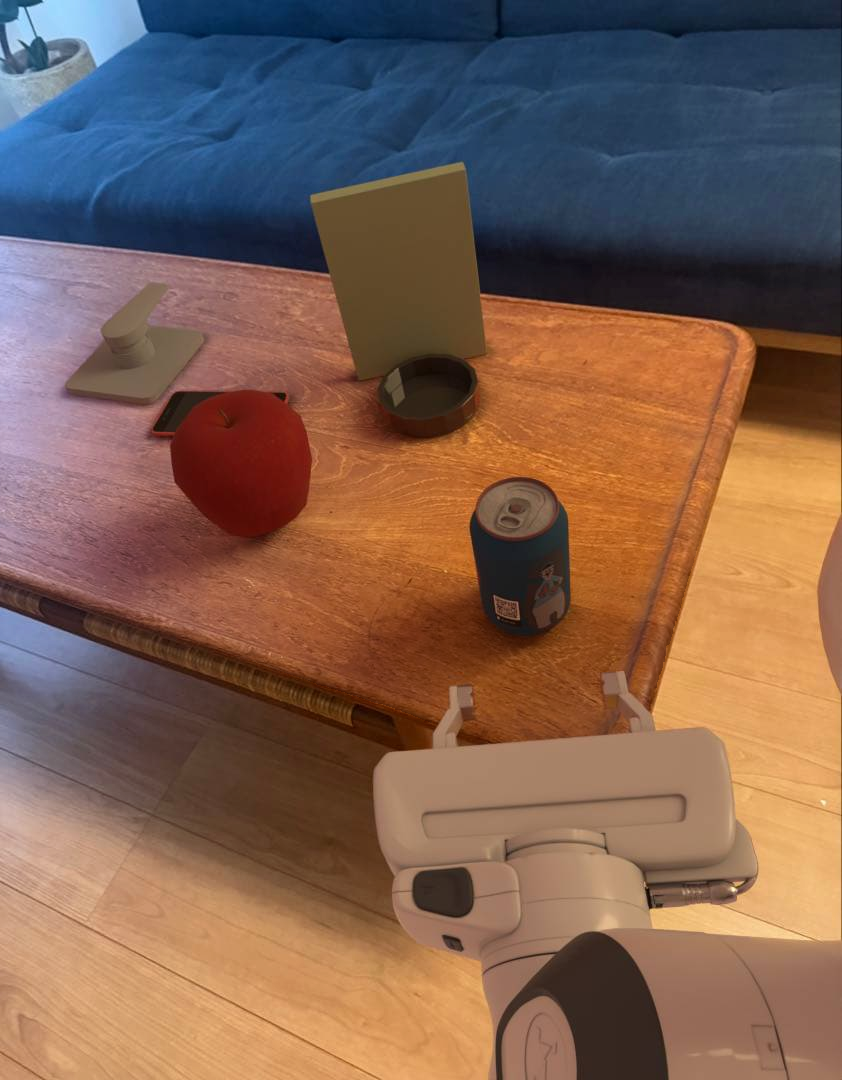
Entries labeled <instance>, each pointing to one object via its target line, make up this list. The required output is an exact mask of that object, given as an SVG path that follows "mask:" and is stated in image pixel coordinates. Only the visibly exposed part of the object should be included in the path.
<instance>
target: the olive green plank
mask: <svg viewBox="0 0 842 1080" xmlns="http://www.w3.org/2000/svg"><path fill="white" fill-rule="evenodd" d="M468 185H469V184H468V178H467V169H466V166H465V164H464V162H463V161H460V162H455V163H450V164H446V165H441V166H437V167H432V168H427V169H423V170H418V171H414V172H409V173H404V174H400V175H394V176H391V177H386V178H381V179H378V180H373V181H368V182H363V183H358V184H355V185H350V186H344V187H340V188H336V189H332V190H327V191H322V192H318V193H317V192H316V193H313V194H310V195H309V198H310V199H309V201H310V207H311V210H312V213H313V216H314V222H315V225H316V229H317V233H318V236H319V239H320V244H321V247H322V251H323V255H324V257H325V261H326V264H327V268H328V273H329V277H330V280H331V284H332V288H333V291H334V295H335V298H336V302H337V306H338V310H339V314H340V317H341V322H342V325H343V329H344V333H345V335H346V340H347V343H348V346H349V350H350V354H351V358H352V362H353V365H354V368H355V372H356V376H357V380H358V382H360V381H361V382H362V381H365V380H370V379H375V378H380V377H383V376H384V375H385V374H386V373H387V372H388V371H390V370H391V369H392V368H393V367H394V366H395V365H397V364H399V363H401V362H403V361H405V360H407V359H409V358H412V357H417V356H421V355H426V354H450V355H452V356H455V357H458V358H461V359H464V360H465V359H469V358H475V357H480V356H484V355H487V354H488V349H487V348H488V347H487V340H486V332H485V324H484V313H483V306H482V298H481V297H482V296H481V289H480V281H479V280H480V279H479V272H478V271H479V269H478V262H477V254H476V246H475V245H476V244H475V237H474V228H473V220H472V211H471V204H470V195H469V186H468Z"/></svg>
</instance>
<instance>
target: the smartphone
mask: <svg viewBox="0 0 842 1080" xmlns="http://www.w3.org/2000/svg"><path fill="white" fill-rule="evenodd" d="M232 391H233V390H177V391H174V392H173V393H172V394H171V395H170V396H169V398H168V400H167V402H166V403H165V405H164V406H163V408H162V409H161V411H160V413H159V415H158V417H157V418H156V420H155V421H154V423H153V425H152V427H151V430H150V431H151V433H152V435H154V436H156V437H157V436H158V437H160V436H161V437H173V436H174V434H175V431H176V429H177V428H178V426H179V425H180V424H181V422H182V421H183V420H184V418H185V417H186V416H187V415H188V413H189V412H190V411H191V410H192V408H193V407H194V406H195V405H197V404H199V403H201V402H202V401H204V400H206V399H208V398H210V397H213V396H216V395H220V394H223V393H226V392H232ZM267 392H268V393H272V394H274V395H275V396H276V397H278V398H279V399H281V400H282V401H284V402H285V403H286V404H287V405H289V401H290V395H289V394H288V392H286V391H267Z"/></svg>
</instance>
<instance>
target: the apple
mask: <svg viewBox="0 0 842 1080" xmlns="http://www.w3.org/2000/svg"><path fill="white" fill-rule="evenodd" d="M231 391H232V392H226V393H223V394H220V395H216V396H213V397H210V398H208V399H206V400H204V401H202V402H201V403H199V404H197V405H195V406H194V407H193V408H192V410H191V411H190V412H189V413H188V415H187V416H186V417H185V418H184V420H183V421H182V422H181V424H180V425H179V426H178V428H177V429H176V431H175V434H174V436H172V439H171V442H170V444H169V450H170V462H171V469H172V474H173V475H172V476H173V481H174V483H175V485H176V486H177V487H178V488H179V489H180V491H181V492H182V493H183V494H184V496H185V497H186V498H187V499H188V500H189V501H190V502H191V504H192V505H193V506H194V507H195V508H196V509H197V511H199V512H200V514H202V515H203V516H204V517H205V519H207V520H208V521H210V522H211V523H212V524H214V525H215V526H216V527H218V528H219V529H221V530H223V532H225V533H226V534H228V535H229V536H233V537H241V538H250V537H251V538H252V537H256V536H257V537H258V536H263V535H266V534H269V533H271V532H274V531H277V530H279V529H282V528H284V527H285V526H286V525H288V524H289V523H290V522H292V521H293V520H295V519H297V517H298V516H299V515H300V513H301V512H302V511H304V508H306V506H307V504H308V498H309V492H310V483H311V474H312V464H313V458H312V452H311V447H310V441H309V437H308V433H307V429H306V426H305V423H304V421H303V419H302V416H301V415H300V413H298V412H297V411H296V410H295V409H293V408H292V407H291V406H290V405H289V404H286V403H285V402H284V401H282V400H281V399H279V398H278V397H276V396H275V395H274V394H272V393H268V392H269V391H262V390H258V389H239V390H231Z"/></svg>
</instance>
